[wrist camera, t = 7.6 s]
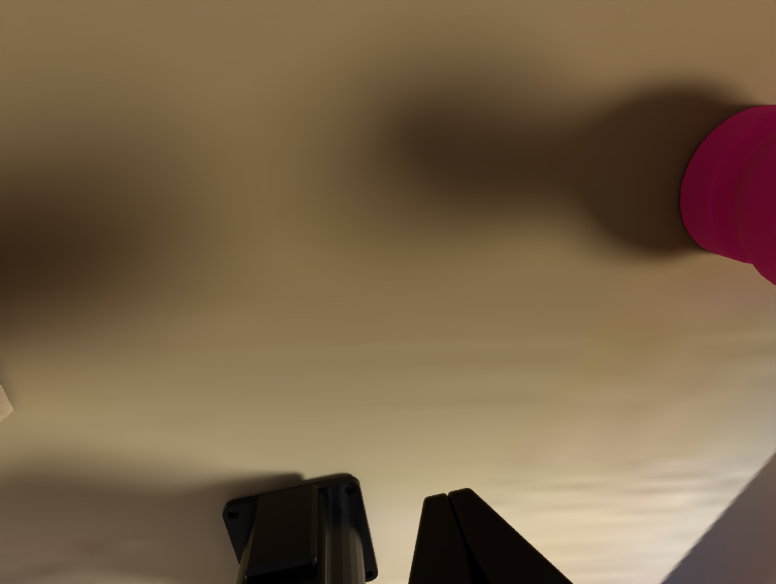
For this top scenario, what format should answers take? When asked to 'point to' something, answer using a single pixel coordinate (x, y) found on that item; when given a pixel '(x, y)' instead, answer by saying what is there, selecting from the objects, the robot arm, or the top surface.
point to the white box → (4, 405)
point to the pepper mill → (735, 190)
